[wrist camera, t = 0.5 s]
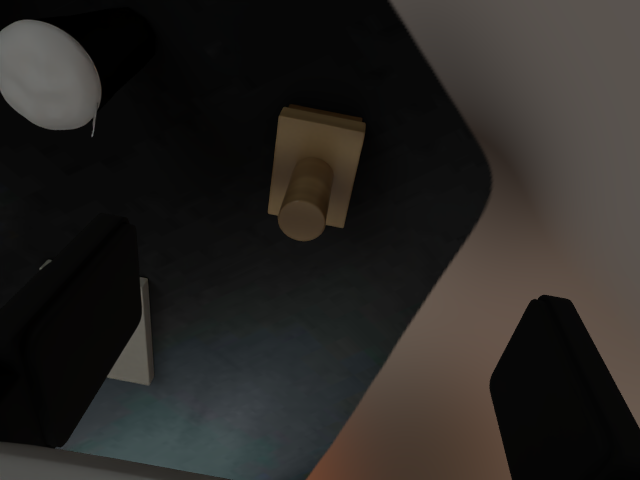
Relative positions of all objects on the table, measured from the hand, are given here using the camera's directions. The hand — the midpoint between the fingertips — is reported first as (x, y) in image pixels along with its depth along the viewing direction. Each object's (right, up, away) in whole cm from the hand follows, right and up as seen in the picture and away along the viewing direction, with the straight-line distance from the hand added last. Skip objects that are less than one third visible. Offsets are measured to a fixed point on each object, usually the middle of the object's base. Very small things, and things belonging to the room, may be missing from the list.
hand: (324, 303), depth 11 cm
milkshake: (-11, +13, +16) cm, 23 cm away
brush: (0, +7, +18) cm, 20 cm away
